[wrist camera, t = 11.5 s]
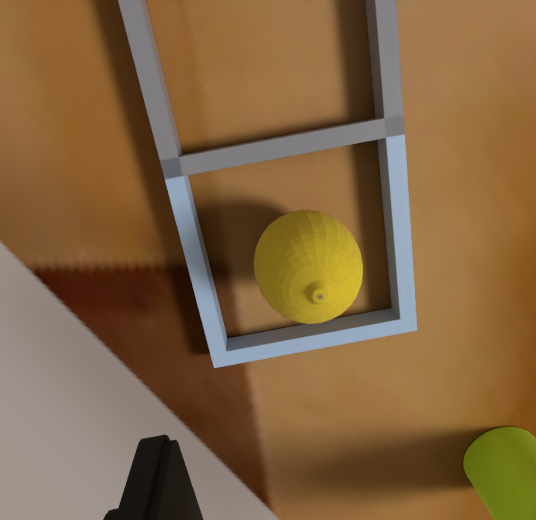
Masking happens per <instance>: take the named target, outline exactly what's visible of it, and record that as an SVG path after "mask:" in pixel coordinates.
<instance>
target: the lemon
mask: <svg viewBox="0 0 536 520" xmlns="http://www.w3.org/2000/svg"><path fill="white" fill-rule="evenodd" d="M254 272H255V279H256V282H257V284H258V286H259V289H260V291H261V293H262V295H263V297H264V298H265V299H266V300H267V302H268V303H269V304H270V306H271V307H272V308H273V309H274V310H276V311H277V312H278V313H280V314H281V315H282V316H284V317H286V318H288V319H291V320H293V321H295V322H300V323H306V324H314V323H322V322H325V321H328V320H331V319H333V318H335V317H337V316H339V315H340V314H342V313H343V312H344V311H345V310H346V309H347V308H349V307H350V305H351V304H352V303H353V301H354V300H355V298H356V297H357V294H358V292H359V289H360V286H361V284H362V275H363V265H362V259H361V253H360V250H359V248H358V246H357V243H356V241H355V239H354V237H353V236H352V234H351V233H350V232H349V231H348V230H347V228H346V227H345V226H344V225H343V224H342V223H341V222H339V221H338V220H336V219H335V218H333V217H332V216H330V215H327V214H324V213H321V212H318V211H312V210H299V211H294V212H290V213H288V214H285V215H283V216H281V217H279V218H278V219H276V220H275V221H274V222H272V223H271V224H270V225H269V226H268V227H267V228H266V230H265V231H264V232H263V234H262V235H261V237H260V239H259V242H258V244H257V246H256V249H255V256H254Z"/></svg>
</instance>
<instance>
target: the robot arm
mask: <svg viewBox="0 0 536 520" xmlns="http://www.w3.org/2000/svg"><path fill="white" fill-rule="evenodd" d="M103 520H203V517H202V514H201V511H200V508H199V505H198V502H197V499H196V496H195V493H194V490H193V487H192V484H191V481H190V477H189V474H188V471H187V468H186V465H185V462H184V459H183V457H182V453H181V450H180V447H179V444H178V442H177V440H171V441H170V439H169V437H168V436H167V435H161V436H155V437H151V438H145V439H141V440H140V442H139V444H138V447H137V450H136V453H135V456H134V459H133V463H132V466H131V469H130V472H129V476H128V479H127V482H126V486H125V489H124V492H123V495H122V498H121V502H120V505H119V508H118V509H113V510H110V511H108V513H107V514H106V515H105V517H104V519H103Z"/></svg>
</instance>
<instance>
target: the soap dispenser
mask: <svg viewBox="0 0 536 520" xmlns="http://www.w3.org/2000/svg"><path fill="white" fill-rule="evenodd" d="M463 467H464V471H465V473H466V475H467V477H468V478H469V480H470V482H471V483H472V485H473V487H474V488H475V490H476V491H477V493H478V495H479V496H480V498H481V500H482V501H483V503H484V504H485V506H486V508H487V509H488V511H489V512H490V514H491V516H492V517H493V519H494V520H536V438H535V437H534V436H533V435H532V434H531V433H530V432H528V431H526V430H524V429H522V428H518V427H500V428H496V429H493V430H490V431H488V432H486V433H484V434H483V435H481V436H480V437H478V438H477V439H476V440H475V441H474V442H473V443H472V444H471V445H470V446H469V448H468V449H467V451H466V453H465V456H464V460H463Z"/></svg>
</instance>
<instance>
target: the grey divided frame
mask: <svg viewBox="0 0 536 520" xmlns="http://www.w3.org/2000/svg"><path fill="white" fill-rule="evenodd" d="M118 2H119V6H120V10H121V14H122V17H123V21H124V25H125V29H126V33H127V37H128V40H129V44H130V48H131V52H132V56H133V60H134V63H135V67H136V71H137V75H138V79H139V83H140V86H141V90H142V94H143V98H144V102H145V106H146V109H147V113H148V117H149V121H150V125H151V128H152V132H153V136H154V140H155V144H156V148H157V151H158V155H159V159H160V163H161V167H162V171H163V174H164V178H165V182H166V186H167V190H168V194H169V197H170V201H171V205H172V209H173V213H174V217H175V220H176V224H177V228H178V232H179V236H180V239H181V243H182V247H183V251H184V255H185V259H186V262H187V266H188V270H189V274H190V278H191V282H192V285H193V289H194V293H195V297H196V301H197V305H198V308H199V312H200V316H201V320H202V324H203V328H204V331H205V335H206V339H207V343H208V347H209V350H210V354H211V358H212V362H213V366H214V368H217V367H222V366H228V365H233V364H238V363H244V362H249V361H255V360H260V359H265V358H271V357H276V356H282V355H287V354H292V353H298V352H303V351H309V350H314V349H319V348H325V347H330V346H336V345H341V344H347V343H352V342H357V341H363V340H368V339H374V338H379V337H384V336H390V335H395V334H401V333H406V332H411V331H417V320H416V305H415V289H414V273H413V258H412V242H411V227H410V211H409V195H408V180H407V164H406V148H405V133H404V117H403V101H402V86H401V70H400V55H399V39H398V23H397V8H396V0H365V2H366V14H367V26H368V37H369V49H370V61H371V72H372V84H373V96H374V107H375V118H373V119H368V120H363V121H357V122H352V123H347V124H341V125H336V126H331V127H326V128H320V129H315V130H310V131H304V132H299V133H294V134H289V135H283V136H278V137H273V138H267V139H262V140H257V141H252V142H246V143H241V144H236V145H230V146H225V147H220V148H215V149H209V150H204V151H199V152H193V153H188V154H183V153H182V149H181V145H180V141H179V137H178V132H177V128H176V124H175V120H174V116H173V112H172V108H171V104H170V99H169V95H168V91H167V87H166V83H165V79H164V75H163V70H162V66H161V62H160V58H159V54H158V50H157V46H156V41H155V37H154V33H153V29H152V25H151V21H150V17H149V13H148V8H147V4H146V0H118ZM372 140H377V142H378V154H379V165H380V177H381V189H382V200H383V212H384V224H385V235H386V247H387V259H388V270H389V282H390V294H391V305H392V308H389V309H384V310H379V311H373V312H368V313H362V314H357V315H352V316H346V317H341V318H335V319H331V320H328V321H325V322H322V323H314V324H303V325H298V326H292V327H287V328H282V329H276V330H271V331H265V332H260V333H255V334H249V335H244V336H238V337H233V338H228V339H227V335H226V331H225V327H224V323H223V319H222V315H221V310H220V306H219V302H218V298H217V294H216V290H215V286H214V281H213V277H212V273H211V269H210V265H209V261H208V257H207V252H206V248H205V244H204V240H203V236H202V232H201V228H200V224H199V219H198V215H197V211H196V207H195V203H194V199H193V195H192V190H191V186H190V182H189V178H188V175H192V174H197V173H202V172H208V171H213V170H218V169H224V168H229V167H234V166H239V165H245V164H250V163H255V162H261V161H266V160H271V159H277V158H282V157H287V156H292V155H298V154H303V153H308V152H314V151H319V150H324V149H330V148H335V147H340V146H345V145H351V144H356V143H361V142H367V141H372Z"/></svg>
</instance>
